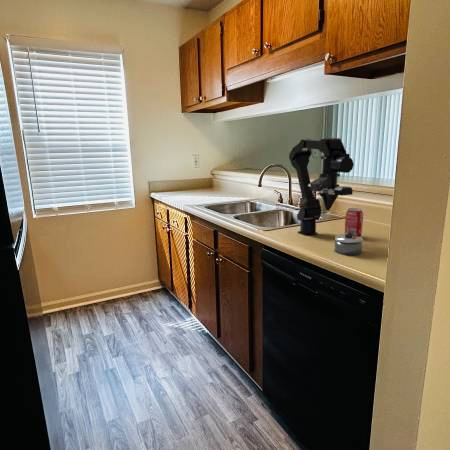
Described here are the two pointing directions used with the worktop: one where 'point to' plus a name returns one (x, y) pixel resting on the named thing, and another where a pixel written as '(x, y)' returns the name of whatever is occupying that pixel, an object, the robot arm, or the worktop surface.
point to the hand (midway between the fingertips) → (327, 210)
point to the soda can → (354, 221)
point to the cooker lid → (348, 238)
